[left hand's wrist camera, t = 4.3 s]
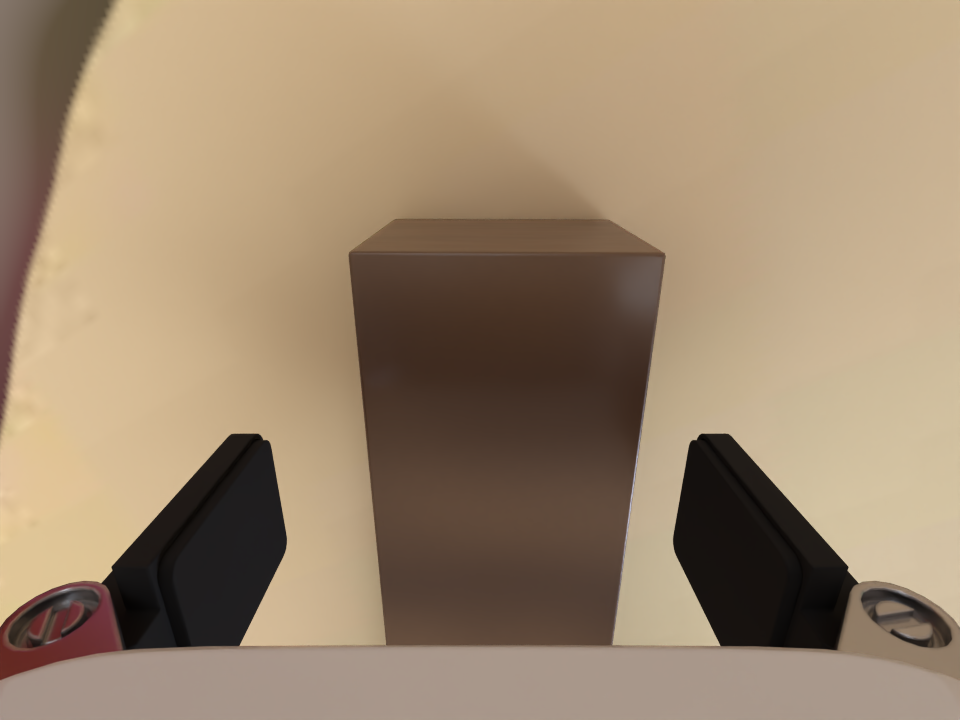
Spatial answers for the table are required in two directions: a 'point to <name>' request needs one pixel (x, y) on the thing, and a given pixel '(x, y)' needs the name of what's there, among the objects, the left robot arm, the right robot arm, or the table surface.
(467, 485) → the beam
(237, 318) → the table surface
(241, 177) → the table surface
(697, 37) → the table surface
